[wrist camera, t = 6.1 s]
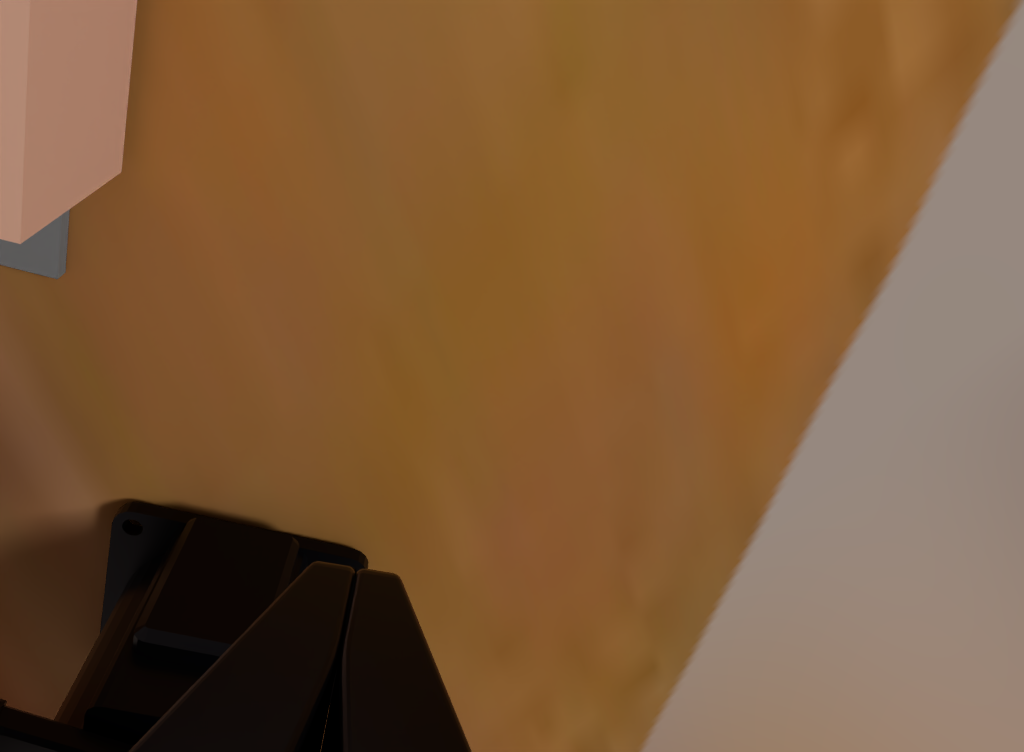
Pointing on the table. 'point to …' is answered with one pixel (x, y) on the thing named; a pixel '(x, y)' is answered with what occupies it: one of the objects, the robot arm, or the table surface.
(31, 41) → the block
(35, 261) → the mat
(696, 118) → the table surface
